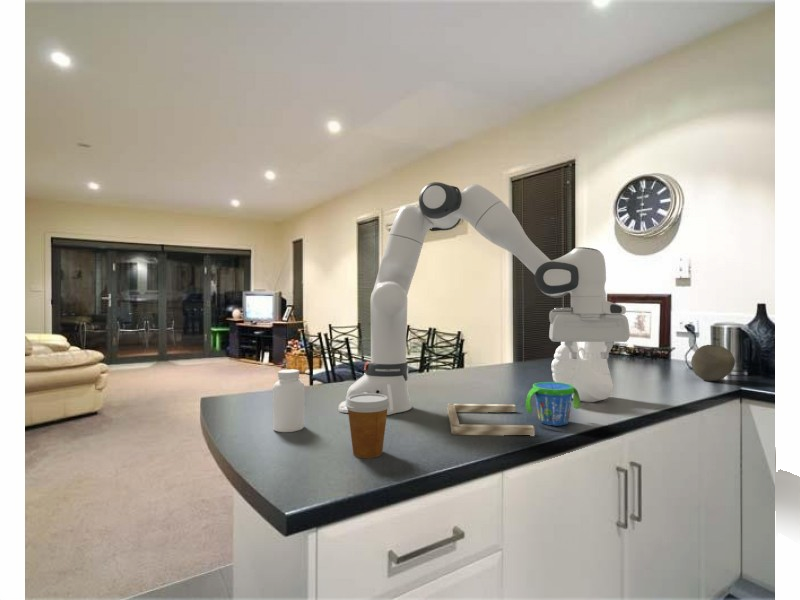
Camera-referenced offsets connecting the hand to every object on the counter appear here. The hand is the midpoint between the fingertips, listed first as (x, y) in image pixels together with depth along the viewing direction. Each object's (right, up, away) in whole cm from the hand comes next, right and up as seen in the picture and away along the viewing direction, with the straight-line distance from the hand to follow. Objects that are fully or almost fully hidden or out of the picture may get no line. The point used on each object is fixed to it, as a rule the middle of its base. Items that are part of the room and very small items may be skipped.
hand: (588, 358), depth 115 cm
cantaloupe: (+78, -18, +61) cm, 101 cm away
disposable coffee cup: (-58, -18, -23) cm, 65 cm away
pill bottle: (-80, -18, -4) cm, 82 cm away
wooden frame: (-27, -18, +1) cm, 33 cm away
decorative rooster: (+8, -18, +27) cm, 34 cm away
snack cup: (-10, -18, 0) cm, 20 cm away
